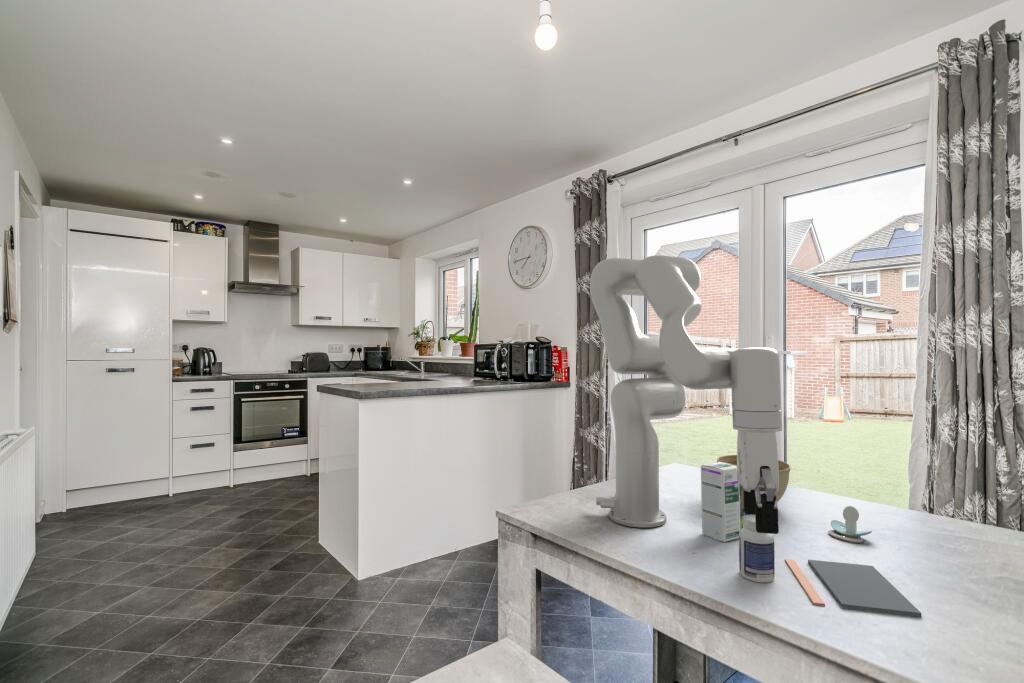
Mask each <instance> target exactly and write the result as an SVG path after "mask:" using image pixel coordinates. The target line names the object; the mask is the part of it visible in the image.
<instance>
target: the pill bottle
mask: <svg viewBox="0 0 1024 683" xmlns="http://www.w3.org/2000/svg"><path fill="white" fill-rule="evenodd" d="M738 551H739V552H738V562H739V563H738V566H739V567H738V568H739V574H740V575H741V576H742V577H743V578H744V579H746V580H749V581H752V582H754V583H756V582H757V583H770V582H773V581H774V580H775V574H776V573H775V570H776V569H775V564H776V563H775V557H776V556H775V554H776V553H775V536H774V534H769V533H758V532H757V531H756V521H755V515H748V514H745V515H743V528H742V529H741V530H740V531H739V538H738Z"/></svg>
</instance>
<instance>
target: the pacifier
mask: <svg viewBox="0 0 1024 683" xmlns="http://www.w3.org/2000/svg"><path fill="white" fill-rule="evenodd" d="M842 517H843V519H844V520H845V522H842V521H840V520H836V519H832V520H831V521H830V526H831V528H832V529H830V530H828V531H827V533H828V534H829V535H830V536H831V537H834V538H836V539H839V540H841V541H845V542H849V543H856V544H857V543H858V544H860V543H863V542H864V539H863V538H862V536H867V535H869V534H872V533H873V532H872V530H869V531H868V530H867V531H862V530H861V531H860V530H859V531H857V524H858V523H857V522H858V520H859V518H860V512H859V510H858V509H857V508H856V507H854V506H852V505H848V506H845V507H844V509H843V511H842ZM838 533H840V534H841V535H842V536H841V535H840V534H838ZM843 536H845V537H843Z"/></svg>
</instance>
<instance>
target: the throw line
mask: <svg viewBox="0 0 1024 683" xmlns="http://www.w3.org/2000/svg"><path fill="white" fill-rule="evenodd" d="M784 562H785V563H786V562H787V563H786V564H787V566H788V568H789V567H790V568H789V569H790V570H792V571H791V572H792V574H793V576H794V577H795V576H796V577H795V578H796V580H797V581H798V583H799V584H800V586H801V588H802V589H803V591H804V592H805V594H806V596H807V597H808V599H809V600H810V601H811V604H813V606H821V607H822V606H823V607H825V605H826V604H825V602H824V601H823V599H822V597H821V596H820V595H819V593H818V592H817V591H816V589H815V588H814V586H813V585H812V583H811V582H810V580H809V579H808V577H807V576H806V575H805V573H804V572H803V570H802V569H801V568H800V566H799V564H798V563H797V561H795V559H789V558H784Z"/></svg>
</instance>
